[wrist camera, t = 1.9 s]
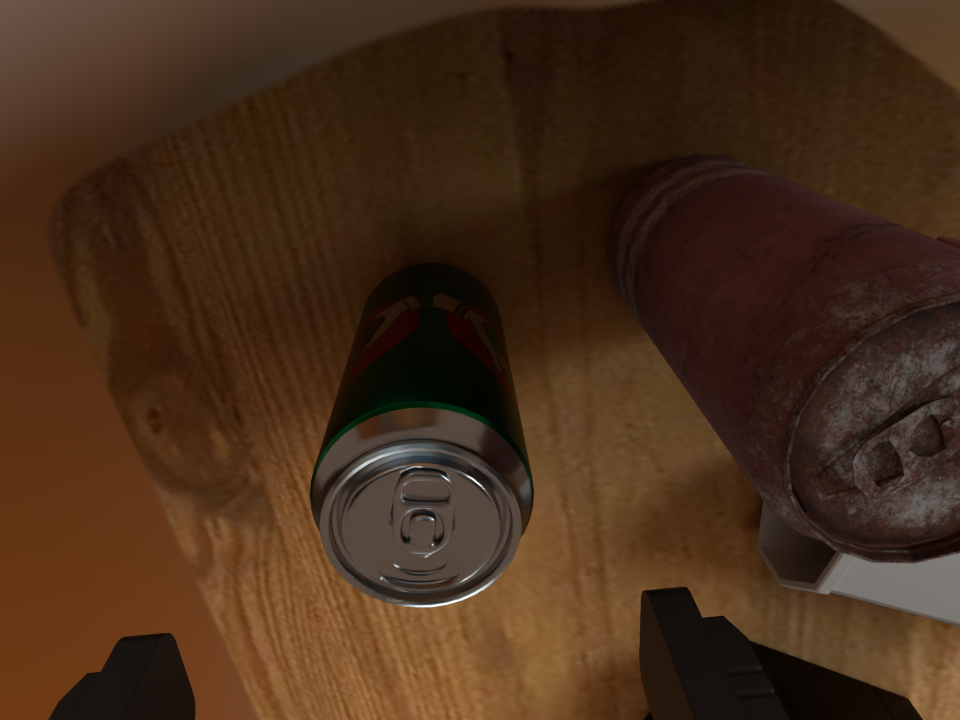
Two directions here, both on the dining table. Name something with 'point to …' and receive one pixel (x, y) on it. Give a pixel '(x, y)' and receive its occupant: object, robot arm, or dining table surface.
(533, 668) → the dining table surface
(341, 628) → the dining table surface
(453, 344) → the soda can
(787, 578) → the tube
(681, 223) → the can
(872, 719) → the holder
